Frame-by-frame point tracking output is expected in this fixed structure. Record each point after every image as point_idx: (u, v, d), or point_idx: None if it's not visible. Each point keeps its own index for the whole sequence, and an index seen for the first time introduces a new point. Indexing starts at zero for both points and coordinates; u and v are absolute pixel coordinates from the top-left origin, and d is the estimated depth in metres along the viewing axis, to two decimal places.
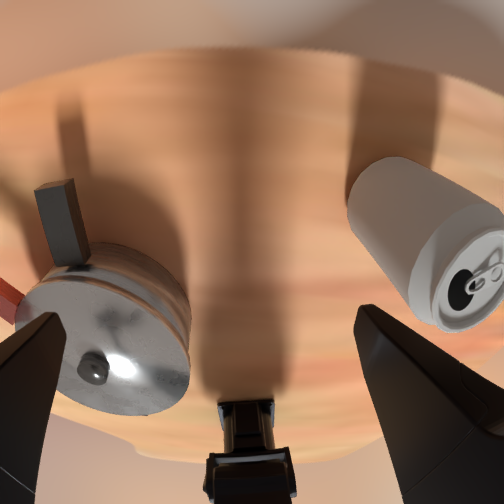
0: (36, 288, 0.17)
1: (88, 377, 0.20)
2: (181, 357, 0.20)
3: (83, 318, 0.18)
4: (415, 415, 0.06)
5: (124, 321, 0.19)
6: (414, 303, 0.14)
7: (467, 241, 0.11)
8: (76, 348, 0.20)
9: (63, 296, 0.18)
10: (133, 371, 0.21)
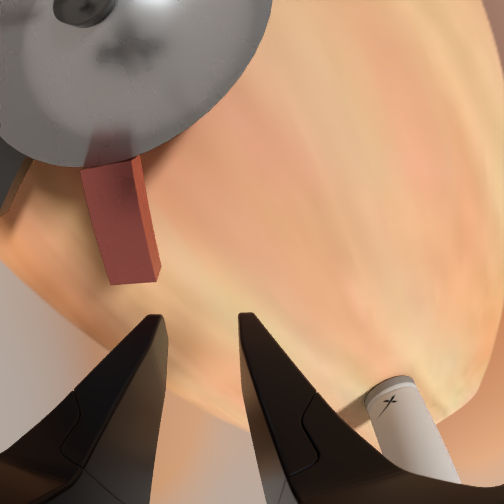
0: (32, 157, 0.11)
1: None
2: None
3: (18, 77, 0.09)
4: (261, 442, 0.05)
5: None
6: None
7: None
8: (81, 43, 0.09)
9: (10, 120, 0.10)
10: None
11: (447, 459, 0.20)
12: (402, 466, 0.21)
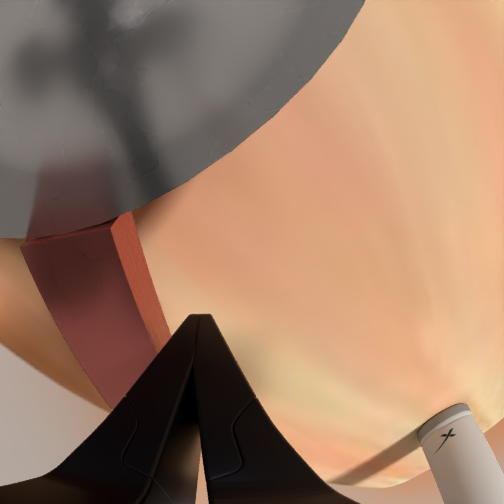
0: None
1: None
2: None
3: None
4: None
5: None
6: None
7: None
8: (4, 1, 0.03)
9: None
10: None
11: None
12: (463, 503, 0.15)
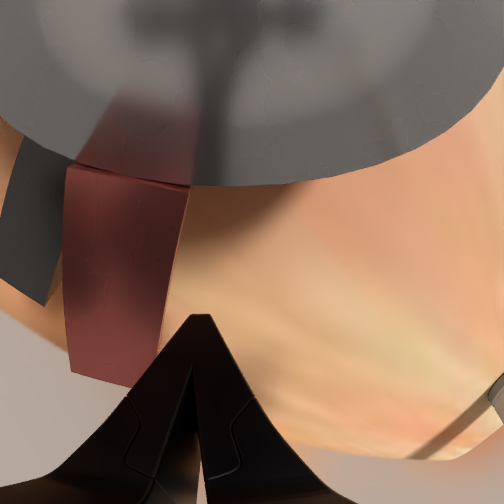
0: None
1: None
2: None
3: None
4: None
5: None
6: None
7: None
8: None
9: None
10: None
11: None
12: None
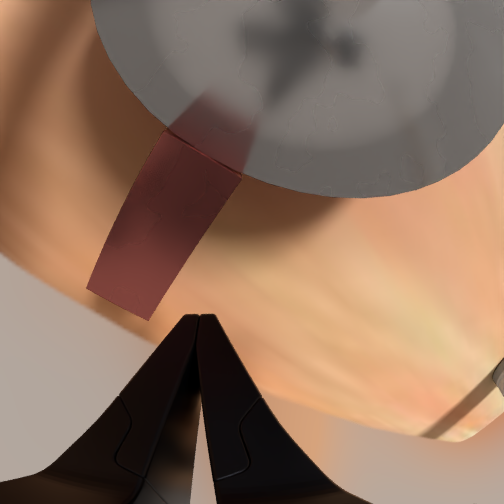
0: (108, 52, 0.06)
1: None
2: None
3: None
4: None
5: None
6: None
7: None
8: None
9: None
10: None
11: None
12: None
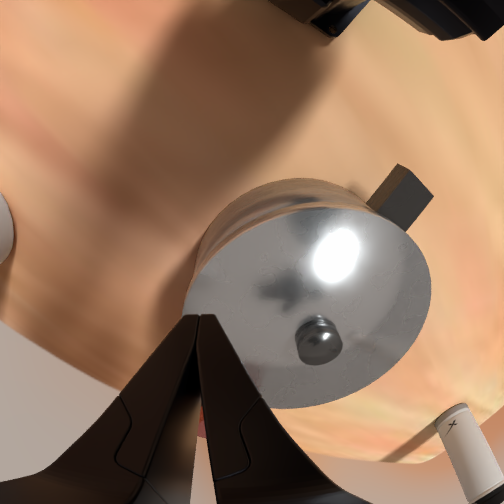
0: None
1: (325, 354, 0.16)
2: (300, 219, 0.13)
3: (232, 335, 0.16)
4: None
5: (230, 289, 0.15)
6: None
7: None
8: (288, 352, 0.17)
9: None
10: (331, 290, 0.15)
11: (491, 458, 0.26)
12: (463, 466, 0.28)
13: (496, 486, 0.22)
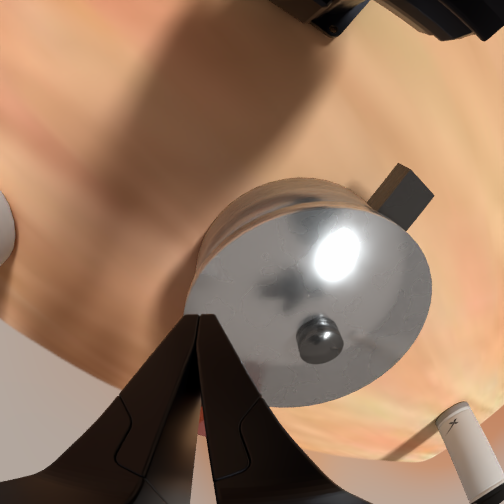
0: None
1: (326, 353, 0.16)
2: (301, 218, 0.14)
3: (234, 334, 0.16)
4: None
5: (231, 288, 0.15)
6: None
7: None
8: (289, 351, 0.17)
9: None
10: (332, 289, 0.15)
11: (492, 456, 0.26)
12: (464, 465, 0.28)
13: (497, 485, 0.22)
